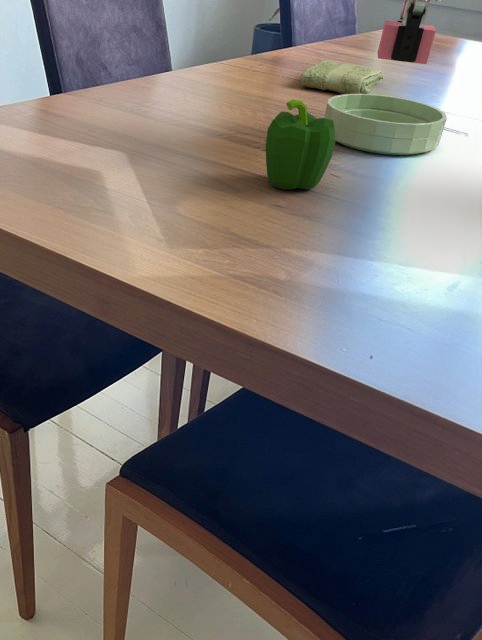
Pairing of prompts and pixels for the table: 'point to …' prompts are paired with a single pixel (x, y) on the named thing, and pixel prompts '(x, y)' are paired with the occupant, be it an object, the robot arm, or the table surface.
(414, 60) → the robot arm
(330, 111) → the bowl
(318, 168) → the bell pepper
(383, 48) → the eraser
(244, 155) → the table surface
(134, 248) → the table surface
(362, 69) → the washcloth
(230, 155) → the table surface
